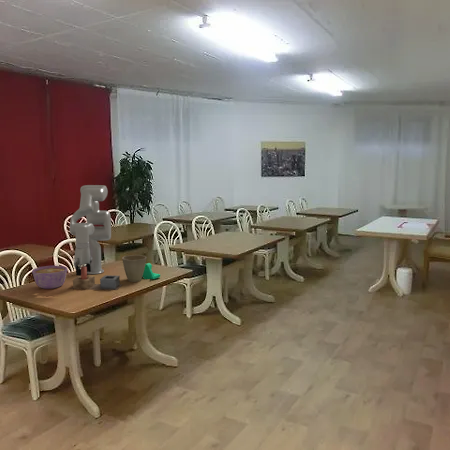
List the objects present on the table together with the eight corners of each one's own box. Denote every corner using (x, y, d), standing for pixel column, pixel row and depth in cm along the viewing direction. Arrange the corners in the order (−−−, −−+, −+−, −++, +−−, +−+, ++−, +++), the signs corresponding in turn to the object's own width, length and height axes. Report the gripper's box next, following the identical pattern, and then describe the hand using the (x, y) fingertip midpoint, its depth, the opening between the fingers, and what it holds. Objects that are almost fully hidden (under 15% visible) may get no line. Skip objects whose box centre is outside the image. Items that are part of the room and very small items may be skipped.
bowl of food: (75, 286, 285) (74, 268, 283) (48, 294, 268) (47, 275, 266) (53, 281, 295) (52, 264, 293) (25, 289, 278) (24, 270, 276)
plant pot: (122, 285, 288) (121, 260, 286) (123, 279, 303) (122, 255, 300) (146, 284, 291) (146, 259, 288) (146, 278, 305) (146, 254, 303)
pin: (80, 286, 280) (79, 267, 279) (83, 285, 283) (82, 266, 282) (84, 287, 279) (84, 267, 278) (88, 285, 282) (87, 266, 281)
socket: (100, 289, 276) (100, 279, 275) (105, 284, 285) (104, 275, 284) (115, 289, 276) (115, 279, 275) (119, 285, 285) (119, 275, 284)
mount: (73, 288, 277) (72, 280, 276) (78, 284, 286) (78, 276, 285) (89, 288, 277) (89, 280, 276) (94, 284, 286) (94, 276, 285)
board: (70, 290, 276) (70, 288, 276) (78, 285, 288) (78, 283, 288) (117, 292, 274) (117, 290, 274) (122, 286, 286) (122, 284, 286)
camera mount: (161, 278, 307) (160, 263, 305) (152, 280, 300) (152, 265, 299) (147, 275, 313) (147, 260, 312) (139, 277, 307) (139, 262, 306)
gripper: (85, 242, 287) (86, 269, 289) (68, 247, 271) (69, 276, 273) (96, 243, 285) (97, 270, 287) (79, 248, 268) (80, 277, 271)
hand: (83, 273), depth 280 cm, fingers open, 9 cm apart
